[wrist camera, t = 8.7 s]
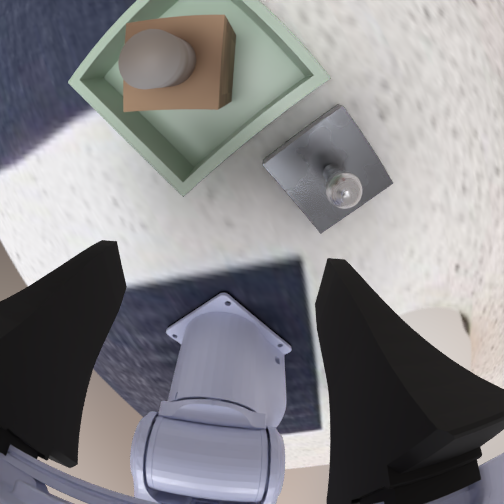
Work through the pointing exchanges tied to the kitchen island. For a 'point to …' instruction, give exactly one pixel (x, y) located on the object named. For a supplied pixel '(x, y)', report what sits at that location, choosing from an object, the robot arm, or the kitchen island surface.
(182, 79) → the brown square bottle
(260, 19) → the bin
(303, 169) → the stud plate
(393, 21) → the kitchen island surface
